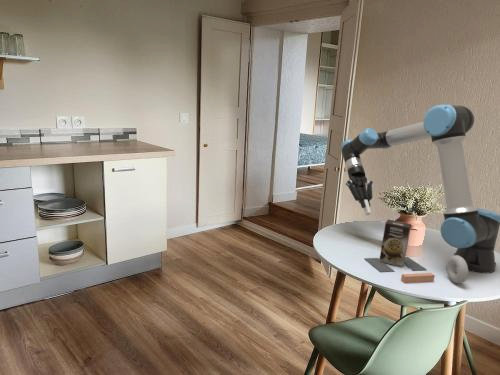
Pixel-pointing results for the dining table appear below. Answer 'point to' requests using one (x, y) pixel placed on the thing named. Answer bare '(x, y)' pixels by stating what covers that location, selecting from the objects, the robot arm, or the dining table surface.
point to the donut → (457, 269)
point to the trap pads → (385, 268)
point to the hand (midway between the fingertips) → (368, 213)
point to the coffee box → (395, 242)
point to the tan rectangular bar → (417, 277)
